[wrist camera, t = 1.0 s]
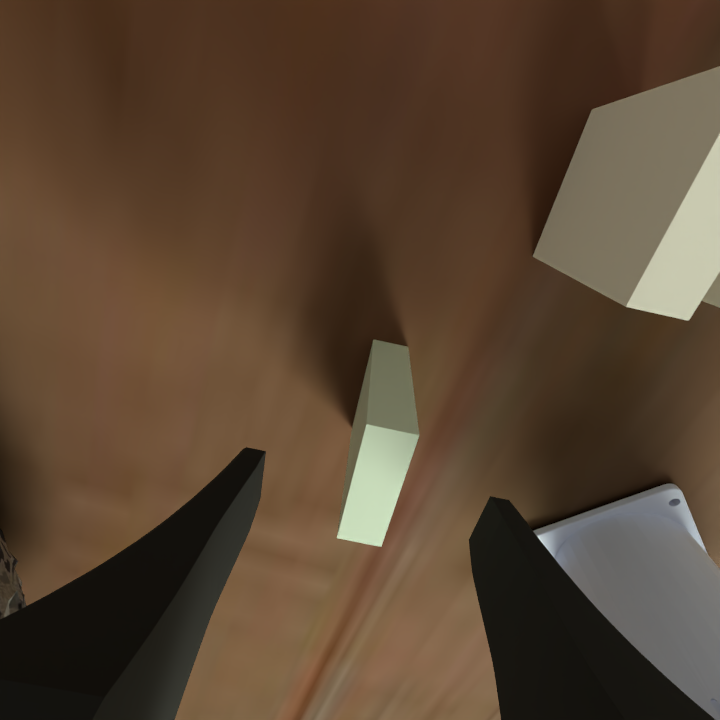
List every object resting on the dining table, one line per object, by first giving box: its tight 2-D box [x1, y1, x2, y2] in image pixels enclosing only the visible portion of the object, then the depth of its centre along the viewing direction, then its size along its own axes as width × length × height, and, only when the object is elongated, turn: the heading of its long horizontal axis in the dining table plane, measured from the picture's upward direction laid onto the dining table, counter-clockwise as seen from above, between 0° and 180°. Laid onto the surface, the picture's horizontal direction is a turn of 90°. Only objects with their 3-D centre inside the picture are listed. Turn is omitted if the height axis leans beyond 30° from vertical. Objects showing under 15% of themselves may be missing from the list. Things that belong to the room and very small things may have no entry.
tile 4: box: [533, 66, 720, 321], centre depth 11 cm, size 2×5×6 cm, turn 168°
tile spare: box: [337, 339, 419, 547], centre depth 15 cm, size 2×5×6 cm, turn 168°
